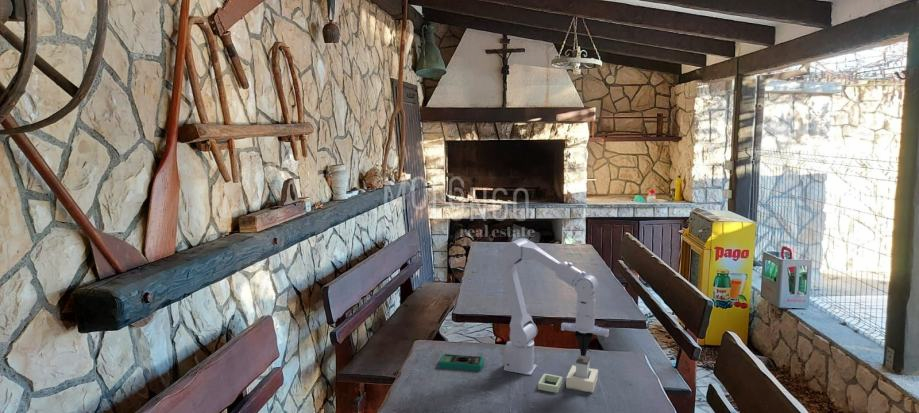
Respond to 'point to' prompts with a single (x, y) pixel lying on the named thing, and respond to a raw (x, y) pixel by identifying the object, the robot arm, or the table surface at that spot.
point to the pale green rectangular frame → (549, 387)
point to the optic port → (582, 380)
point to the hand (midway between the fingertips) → (583, 354)
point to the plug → (582, 366)
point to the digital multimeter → (461, 362)
